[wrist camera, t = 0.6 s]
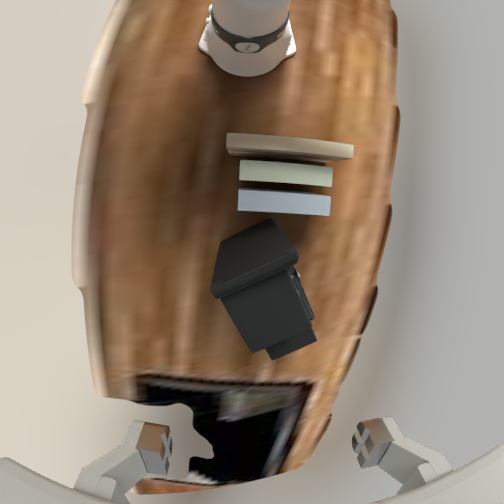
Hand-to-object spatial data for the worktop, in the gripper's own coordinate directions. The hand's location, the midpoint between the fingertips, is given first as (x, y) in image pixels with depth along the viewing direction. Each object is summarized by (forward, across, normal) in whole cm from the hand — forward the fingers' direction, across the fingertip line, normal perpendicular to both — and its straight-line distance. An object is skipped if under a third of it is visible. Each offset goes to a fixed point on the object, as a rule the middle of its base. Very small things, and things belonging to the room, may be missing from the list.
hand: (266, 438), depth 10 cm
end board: (+45, -6, -16) cm, 48 cm away
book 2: (+45, -6, -8) cm, 46 cm away
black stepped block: (+46, -6, +8) cm, 47 cm away
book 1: (+45, -6, -12) cm, 47 cm away
